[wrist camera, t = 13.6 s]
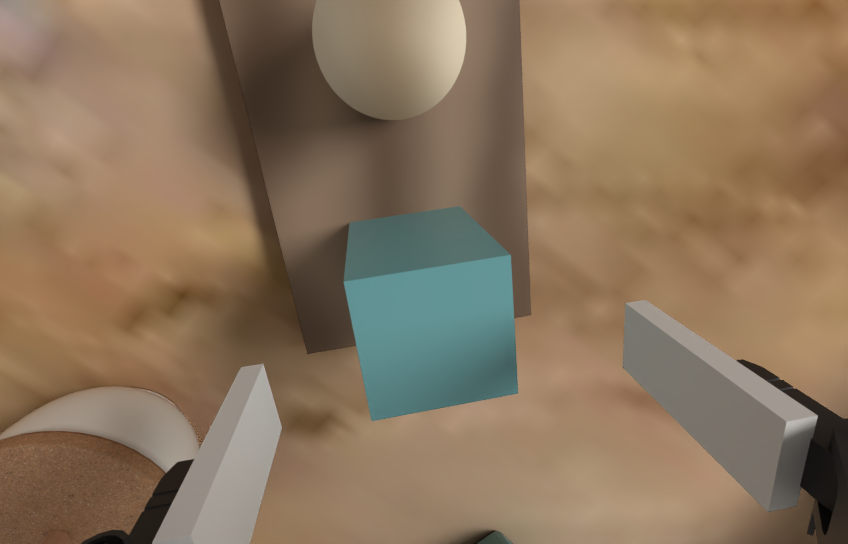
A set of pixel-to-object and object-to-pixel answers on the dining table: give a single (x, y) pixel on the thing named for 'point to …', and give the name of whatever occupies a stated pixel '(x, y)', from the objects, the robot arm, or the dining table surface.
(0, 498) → the lidded jar
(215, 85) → the dining table surface
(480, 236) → the teal rectangular block
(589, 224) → the dining table surface
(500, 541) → the flower pot
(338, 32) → the cream smooth rounded part
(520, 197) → the base board
